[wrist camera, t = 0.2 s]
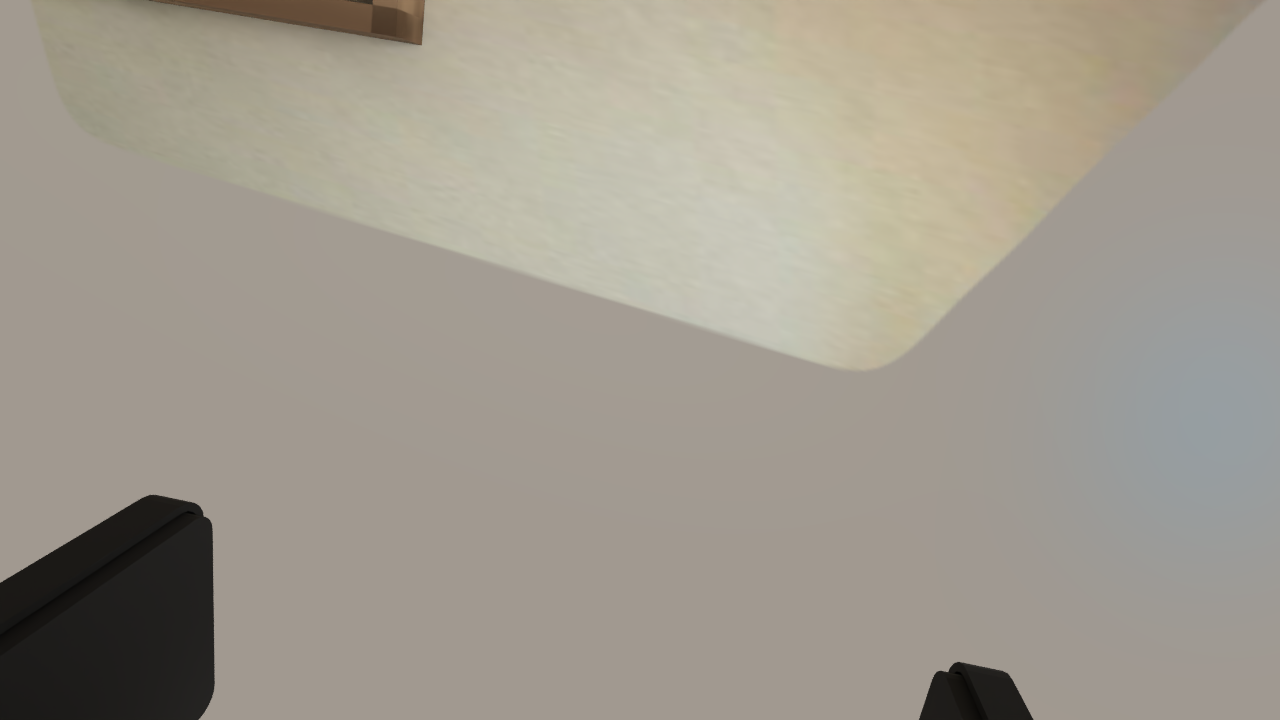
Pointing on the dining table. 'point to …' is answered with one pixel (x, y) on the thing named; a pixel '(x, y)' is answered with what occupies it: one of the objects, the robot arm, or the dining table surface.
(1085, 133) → the dining table surface
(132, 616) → the robot arm
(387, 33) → the bay
